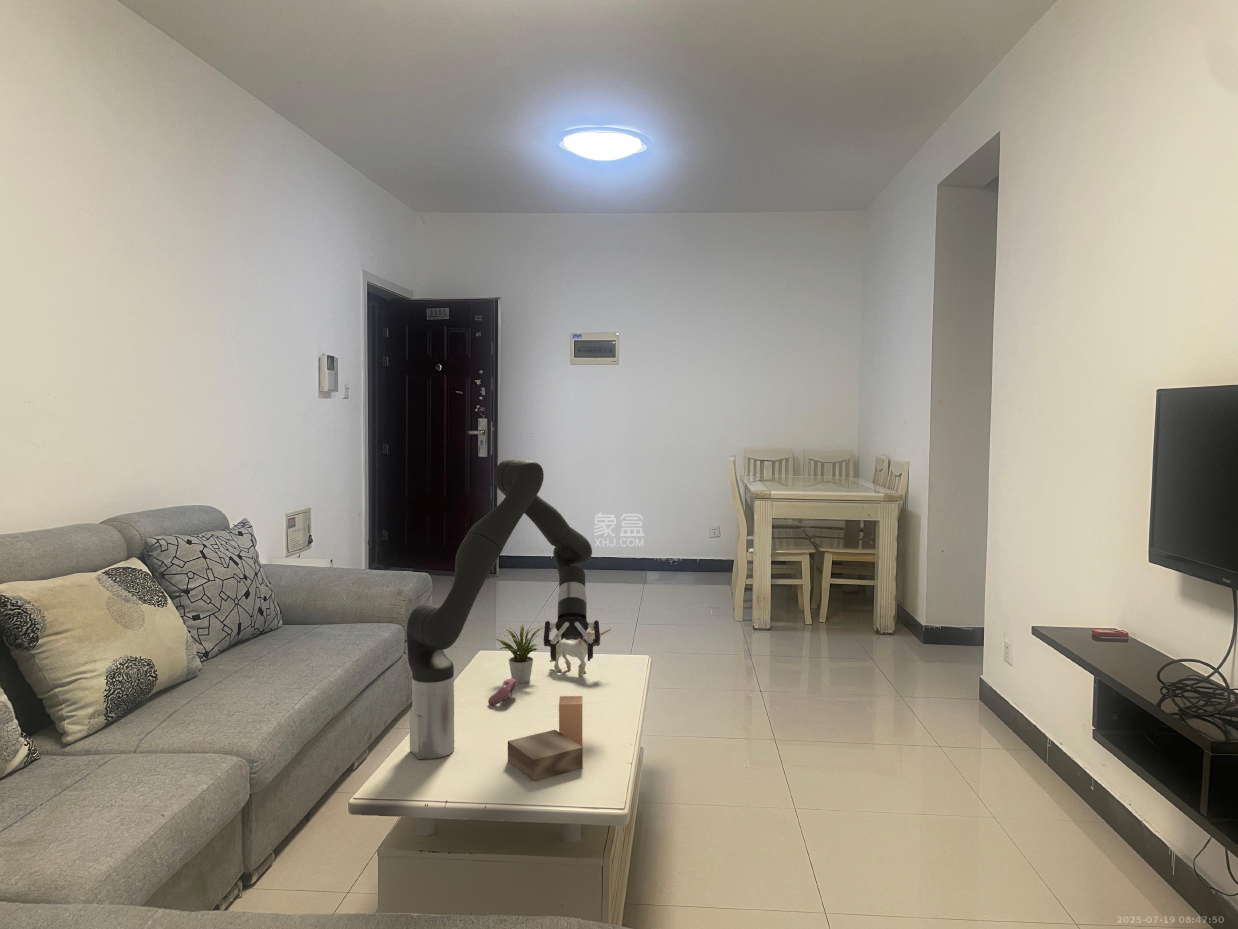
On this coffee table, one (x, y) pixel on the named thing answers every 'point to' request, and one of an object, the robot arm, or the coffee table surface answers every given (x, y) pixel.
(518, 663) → the house plant
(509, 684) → the pink rounded piece
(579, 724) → the peach block
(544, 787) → the coffee table surface
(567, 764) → the walnut block
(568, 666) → the unicorn figurine
